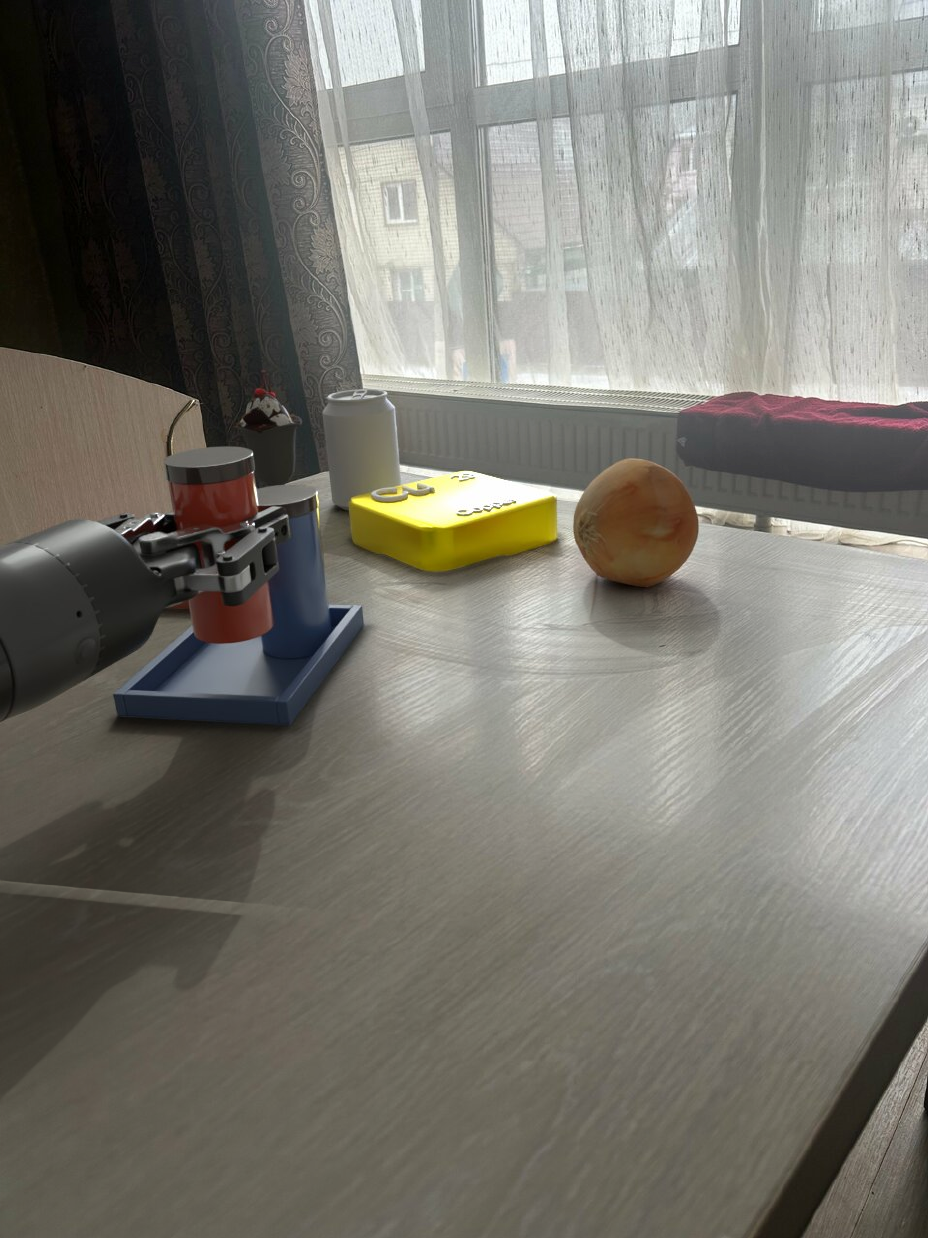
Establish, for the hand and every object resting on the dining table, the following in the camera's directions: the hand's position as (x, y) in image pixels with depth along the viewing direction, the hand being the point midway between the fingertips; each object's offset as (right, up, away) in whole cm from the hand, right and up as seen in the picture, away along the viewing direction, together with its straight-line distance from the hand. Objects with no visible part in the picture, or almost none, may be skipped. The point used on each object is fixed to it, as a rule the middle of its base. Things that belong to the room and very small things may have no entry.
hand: (244, 518), depth 61 cm
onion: (+28, -4, +18) cm, 33 cm away
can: (+3, +6, +43) cm, 44 cm away
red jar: (-1, -7, 0) cm, 7 cm away
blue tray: (-1, -10, +5) cm, 11 cm away
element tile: (+13, +1, +30) cm, 33 cm away
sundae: (-5, +4, +40) cm, 41 cm away
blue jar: (+2, -8, +8) cm, 12 cm away
